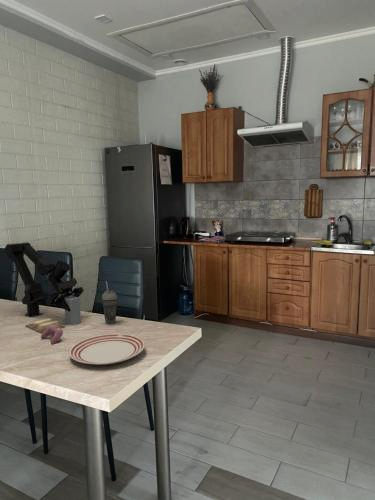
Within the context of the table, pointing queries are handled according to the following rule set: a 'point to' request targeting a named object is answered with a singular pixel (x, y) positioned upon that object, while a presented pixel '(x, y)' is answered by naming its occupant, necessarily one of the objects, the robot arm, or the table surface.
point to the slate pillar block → (73, 311)
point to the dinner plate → (107, 349)
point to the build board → (43, 325)
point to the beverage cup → (109, 305)
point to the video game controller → (52, 333)
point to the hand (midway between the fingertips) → (74, 309)
